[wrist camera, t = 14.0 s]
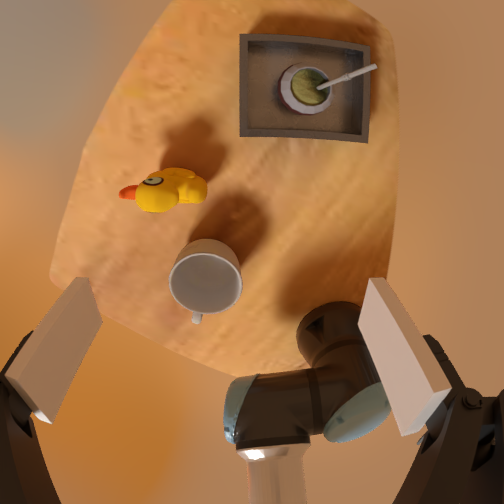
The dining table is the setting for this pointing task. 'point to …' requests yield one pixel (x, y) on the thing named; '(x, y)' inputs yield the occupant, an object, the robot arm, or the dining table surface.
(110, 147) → the dining table surface
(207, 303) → the teacup
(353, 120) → the tray
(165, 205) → the duckling
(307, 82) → the mate gourd
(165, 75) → the dining table surface
